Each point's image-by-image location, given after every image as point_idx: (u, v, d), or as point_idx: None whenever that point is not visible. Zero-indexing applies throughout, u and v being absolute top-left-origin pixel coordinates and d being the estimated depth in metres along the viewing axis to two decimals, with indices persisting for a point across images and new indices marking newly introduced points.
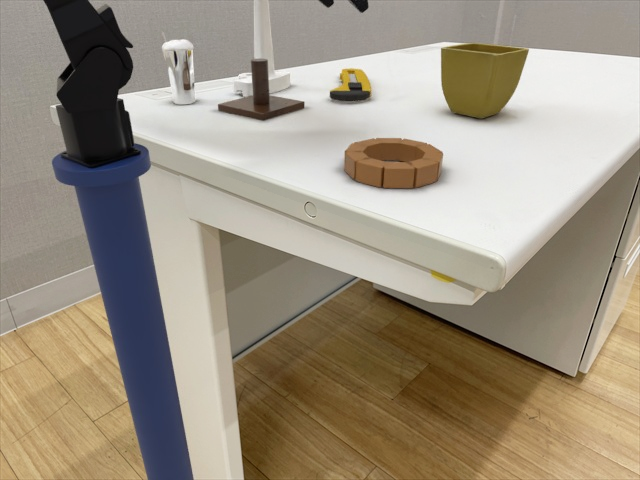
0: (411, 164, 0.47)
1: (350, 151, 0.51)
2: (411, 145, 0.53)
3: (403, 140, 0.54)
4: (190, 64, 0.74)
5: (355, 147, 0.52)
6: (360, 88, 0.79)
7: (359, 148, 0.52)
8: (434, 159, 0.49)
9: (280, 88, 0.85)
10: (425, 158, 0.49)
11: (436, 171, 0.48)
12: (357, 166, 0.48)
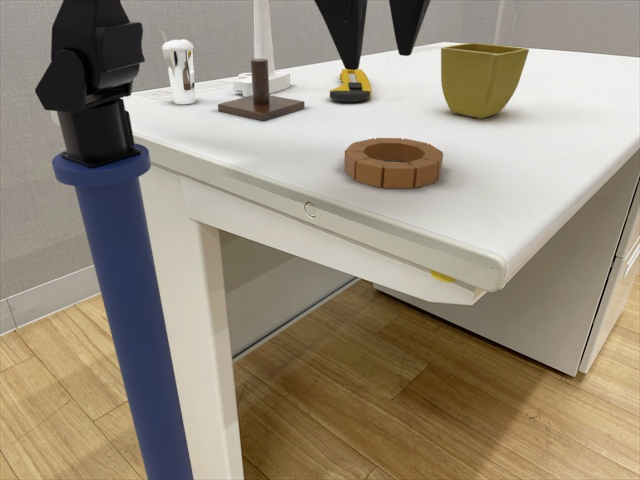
0: (411, 164, 0.47)
1: (350, 151, 0.51)
2: (411, 145, 0.53)
3: (403, 140, 0.54)
4: (190, 64, 0.74)
5: (355, 147, 0.52)
6: (360, 88, 0.79)
7: (359, 148, 0.52)
8: (434, 159, 0.49)
9: (280, 88, 0.85)
10: (425, 158, 0.49)
11: (436, 171, 0.48)
12: (357, 166, 0.48)
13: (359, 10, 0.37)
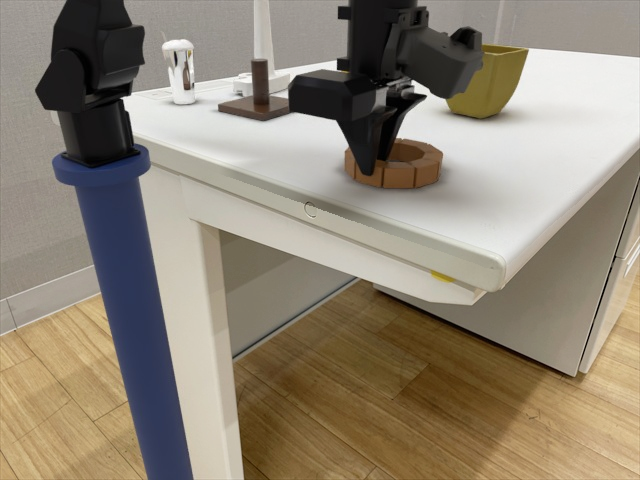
0: (411, 164, 0.47)
1: (350, 151, 0.51)
2: (411, 145, 0.53)
3: (403, 140, 0.54)
4: (190, 64, 0.74)
5: None
6: None
7: None
8: (434, 159, 0.49)
9: (280, 88, 0.85)
10: (425, 158, 0.49)
11: (436, 171, 0.48)
12: (357, 166, 0.48)
13: (375, 134, 0.44)
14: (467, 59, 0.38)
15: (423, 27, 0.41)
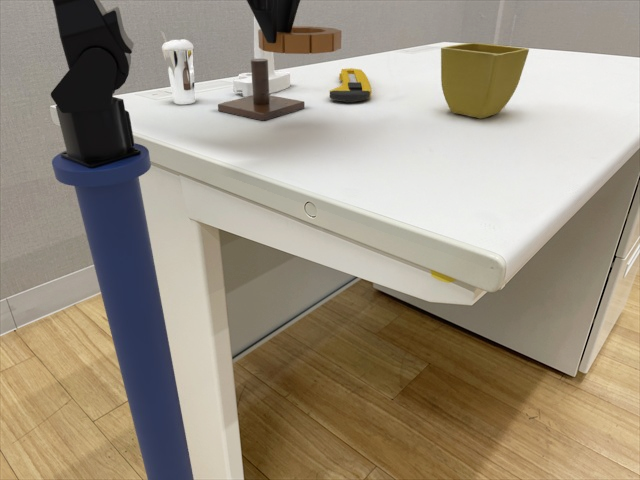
0: (308, 33, 0.56)
1: None
2: (318, 28, 0.62)
3: (313, 27, 0.63)
4: (190, 64, 0.74)
5: None
6: (360, 88, 0.79)
7: None
8: (330, 32, 0.58)
9: (280, 88, 0.85)
10: (323, 32, 0.58)
11: (331, 42, 0.57)
12: None
13: (271, 0, 0.53)
14: None
15: None
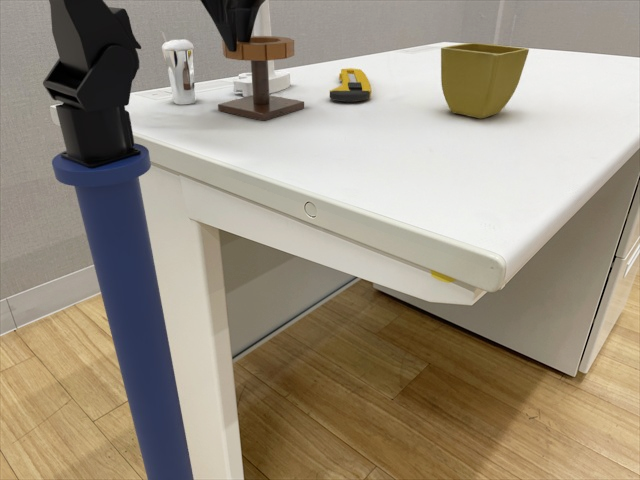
0: (264, 43, 0.66)
1: None
2: (275, 38, 0.71)
3: (271, 36, 0.72)
4: (190, 64, 0.74)
5: None
6: (360, 88, 0.79)
7: None
8: (283, 42, 0.67)
9: (280, 88, 0.85)
10: (277, 42, 0.67)
11: (284, 50, 0.67)
12: (226, 46, 0.67)
13: (230, 15, 0.62)
14: None
15: None
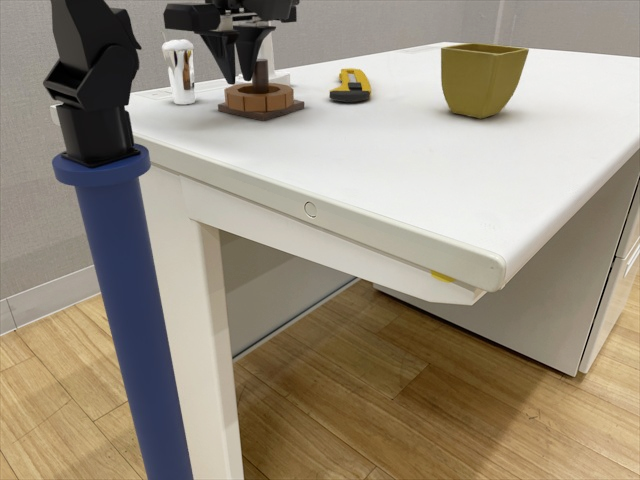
0: (264, 95, 0.69)
1: (228, 89, 0.72)
2: (275, 86, 0.74)
3: (271, 84, 0.75)
4: (190, 64, 0.74)
5: (233, 87, 0.73)
6: (360, 88, 0.79)
7: (236, 87, 0.73)
8: (283, 92, 0.70)
9: None
10: (277, 92, 0.70)
11: (284, 100, 0.70)
12: (228, 97, 0.69)
13: (229, 51, 0.64)
14: None
15: None
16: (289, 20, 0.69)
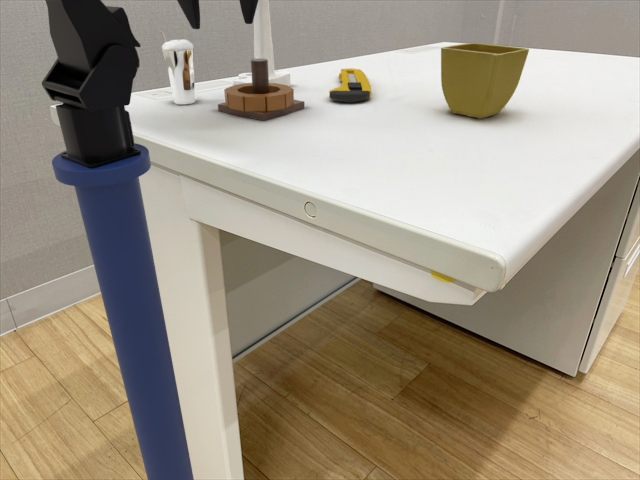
0: (264, 95, 0.69)
1: (228, 89, 0.72)
2: (275, 86, 0.74)
3: (271, 84, 0.75)
4: (190, 64, 0.74)
5: (233, 87, 0.73)
6: (360, 88, 0.79)
7: (236, 87, 0.73)
8: (283, 92, 0.70)
9: None
10: (277, 92, 0.70)
11: (284, 100, 0.70)
12: (228, 97, 0.69)
13: None
14: None
15: None
16: None
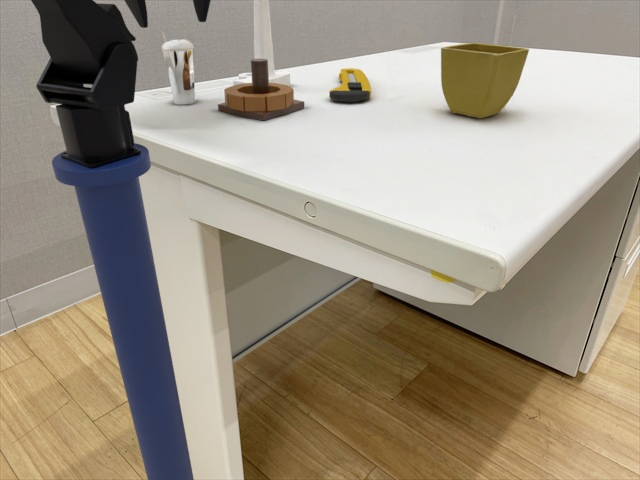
0: (264, 95, 0.69)
1: (228, 89, 0.72)
2: (275, 86, 0.74)
3: (271, 84, 0.75)
4: (190, 64, 0.74)
5: (233, 87, 0.73)
6: (360, 88, 0.79)
7: (236, 87, 0.73)
8: (283, 92, 0.70)
9: None
10: (277, 92, 0.70)
11: (284, 100, 0.70)
12: (228, 97, 0.69)
13: None
14: None
15: None
16: None
